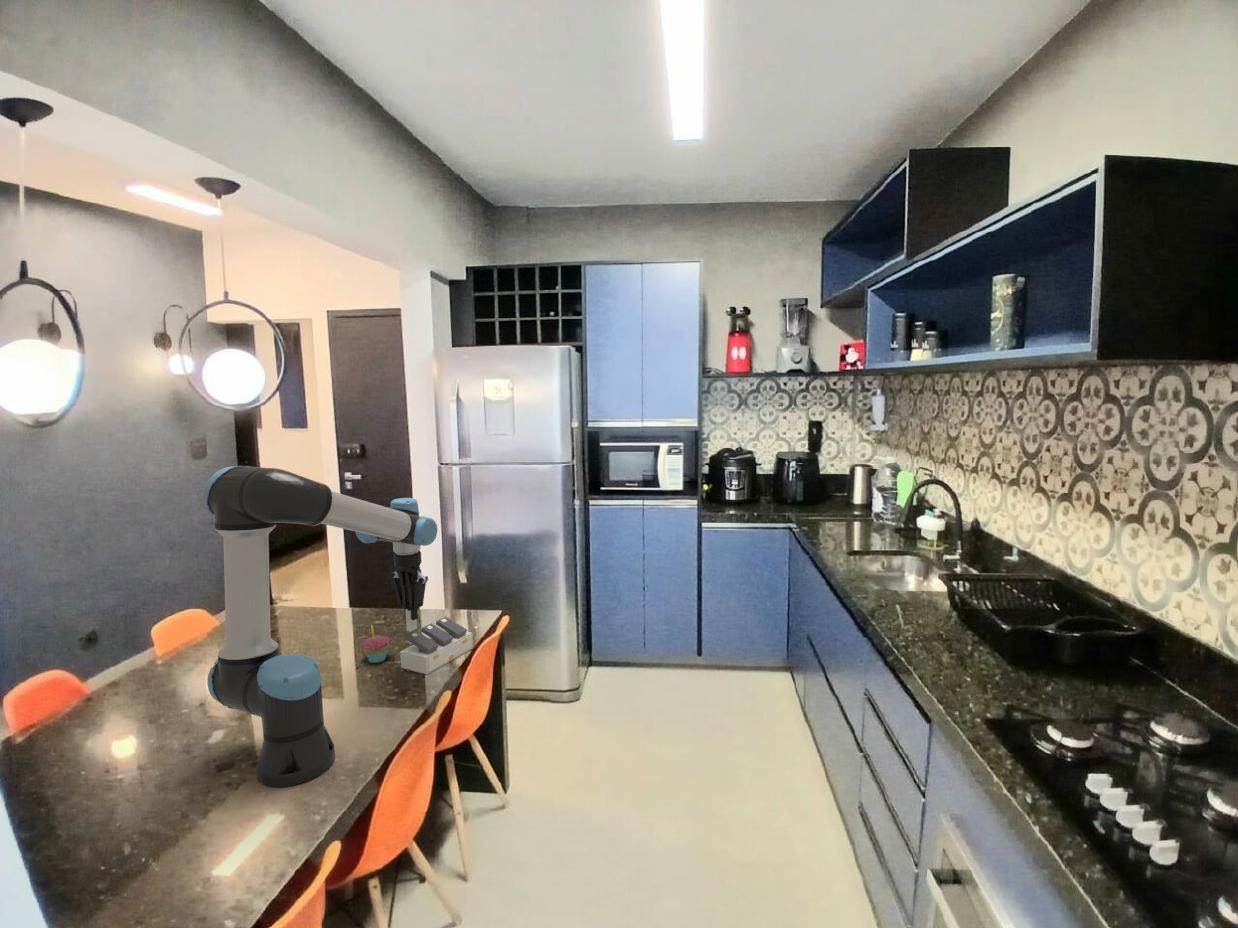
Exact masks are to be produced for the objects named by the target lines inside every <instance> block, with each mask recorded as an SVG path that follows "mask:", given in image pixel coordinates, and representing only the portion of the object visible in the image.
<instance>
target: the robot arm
mask: <svg viewBox="0 0 1238 928" xmlns="http://www.w3.org/2000/svg"><path fill="white" fill-rule="evenodd" d="M202 502H203V506H204V508H205V509H206V510H207V511H208V512H209V513H210V514H212V516H214V530H215V531H216V532H217V533H218V534H220V535H221V536H222V538H223V573H224V574H223V575H224V576H223V577H224V579H223V580H224V619H225V621H224V623H225V644H224V646H222V647H221V648H220V649H219V650H218V652H217V659H216V660H215V661H214V663H213V664H214V665H213V666H212V667H210V669H209V672H208V674H207V682H206V683H207V689H208V692H209V694H210V696H211V697H212V698H213V700H215V701H216V702H217V703H219V704H221V705H222V706H224V707H227V708H228V709H232V710H238V711H239V712H240V711H241V712H245V713H247V714H250V715H253V716H256V717H259V718H260V719H261V727H262V736H263V741H262V744H261V749H260V751H259V756H258V757H259V758H258V760H257V763H256V777H257V780H258V782H260V784H262V785H265V786H266V787H267V786H268V787H273V788H283V787H291V786H296V785H299V784H302V783H305V782H308V781H310V780H312V779H314V778H316V777H318V776H320V775H322V774H323V773H324V772H326V771H328V769H329V768H330V767H331V766H332V765H333V764H334V762H335V760H336V749H335V748H336V747H335V744H334V741H333V740H332V738H331V736H330V733H329V732H328V730H327V728H326V726H325V721H324V706H323V693H322V692H323V691H322V676H321V672H320V671H321V670H320V667H319V664H318V661H316V660H315V659H314V658H313V657H311V656H309V655H306V654H301V653H294V654H290V653H286V654H281V655H279V643H278V642H277V641H275V640H274V639H272V637H271V604H270V603H271V599H270V598H271V597H270V552H269V551H270V547H269V539H270V538H269V537H270V536H269V535H270V533H271V532H272V531H274V529H275V528H276V527H277V523H279V524H299V525H305V526H308V527H309V526H310V527H315V526H318V525H320V524H321V525H326V526H330V527H334V528H338V529H343V530H348V531H352V532H355V535H356V537H357V539H358V540H359V541H360V542H362V543H363V544H370V543H376V542H380V541H382V542H390V543H392V549H393V552H394V554H393V563H394V566H395V567H396V568H395V571H394V572H391V573H389V576H390V578H391V579H390V580H392V584H393V588H394V592H395V596H396V600H397V604H398V606H399V607H400V606H401V607H402V608H403V610H404V611H403V613H404V619H405V622H406V631H407V632H411V633H412V632H414V631H416V630H417V629H418V619H419V617H418V616H419V613H418V609H419V608H421V607H423V606H424V600H425V593H426V592H425V591H426V585H427V583H428V581H429V577H428V575H425V576H424V575H423V574H422V569H421V568H420V567H421V564H422V552H421V549H422V548H421V547H422V546H430V545H431V544H433V543H434V541H436V539H437V534H438V525H437V523H436V520H434V519H433V518H432V517H428V516H427V517H426V516H425V515H424V516H423V515H421V516H420V511H419V504H418V503H419V502H418V500H417V499H416V498H412V497H402V498H401V497H400V498H395V499H393V500H391V501H390V506H389V507H387V506H383V505H380V504H376V503H372V502H370V501H366V500H362V499H359V498H357V497H353V496H349V495H347V494H346V495H345V494H342V493H340V492H335V491H332V489H331V487H330V486H329V485H327V484H324V483H322V482H318V481H315V480H314V479H313V480H312V479H310V478H307V477H304V476H302V475H299V474H296V473H293V472H290V471H288V470H284V469H280V468H275V467H262V466H261V467H259V466H258V467H257V466H250V465H236V466H235V465H234V466H233V465H232V466H227V467H224V468H221V469H219V470H217V471H216V472H215V473H214V474H212V476H210V477H209V479H208V480H207V482H205V485H204V487H203V491H202Z"/></svg>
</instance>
